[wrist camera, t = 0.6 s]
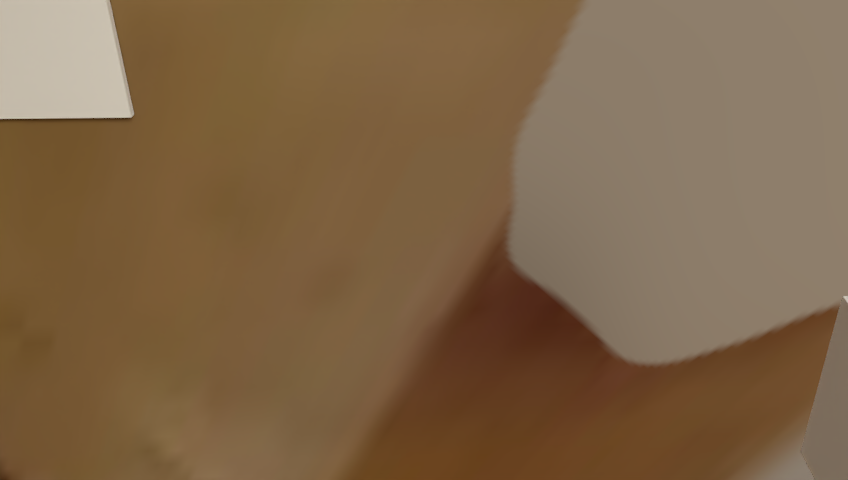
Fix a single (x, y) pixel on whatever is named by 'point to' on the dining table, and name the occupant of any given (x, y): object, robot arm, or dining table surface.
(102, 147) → the dining table surface
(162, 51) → the dining table surface
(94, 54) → the pad
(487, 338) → the dining table surface
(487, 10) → the dining table surface
